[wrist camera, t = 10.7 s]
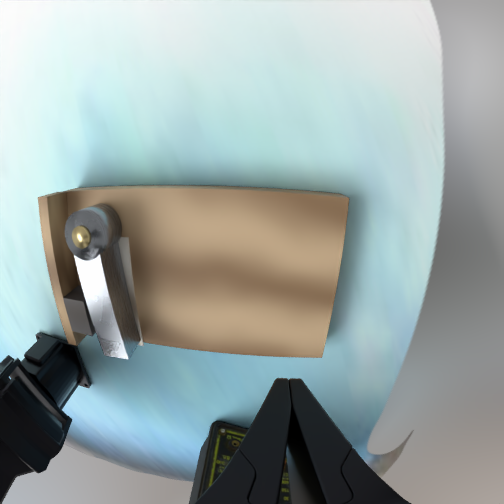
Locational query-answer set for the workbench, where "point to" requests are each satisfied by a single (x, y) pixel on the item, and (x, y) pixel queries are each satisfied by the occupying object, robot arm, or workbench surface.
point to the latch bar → (103, 277)
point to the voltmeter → (225, 460)
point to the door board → (211, 265)
